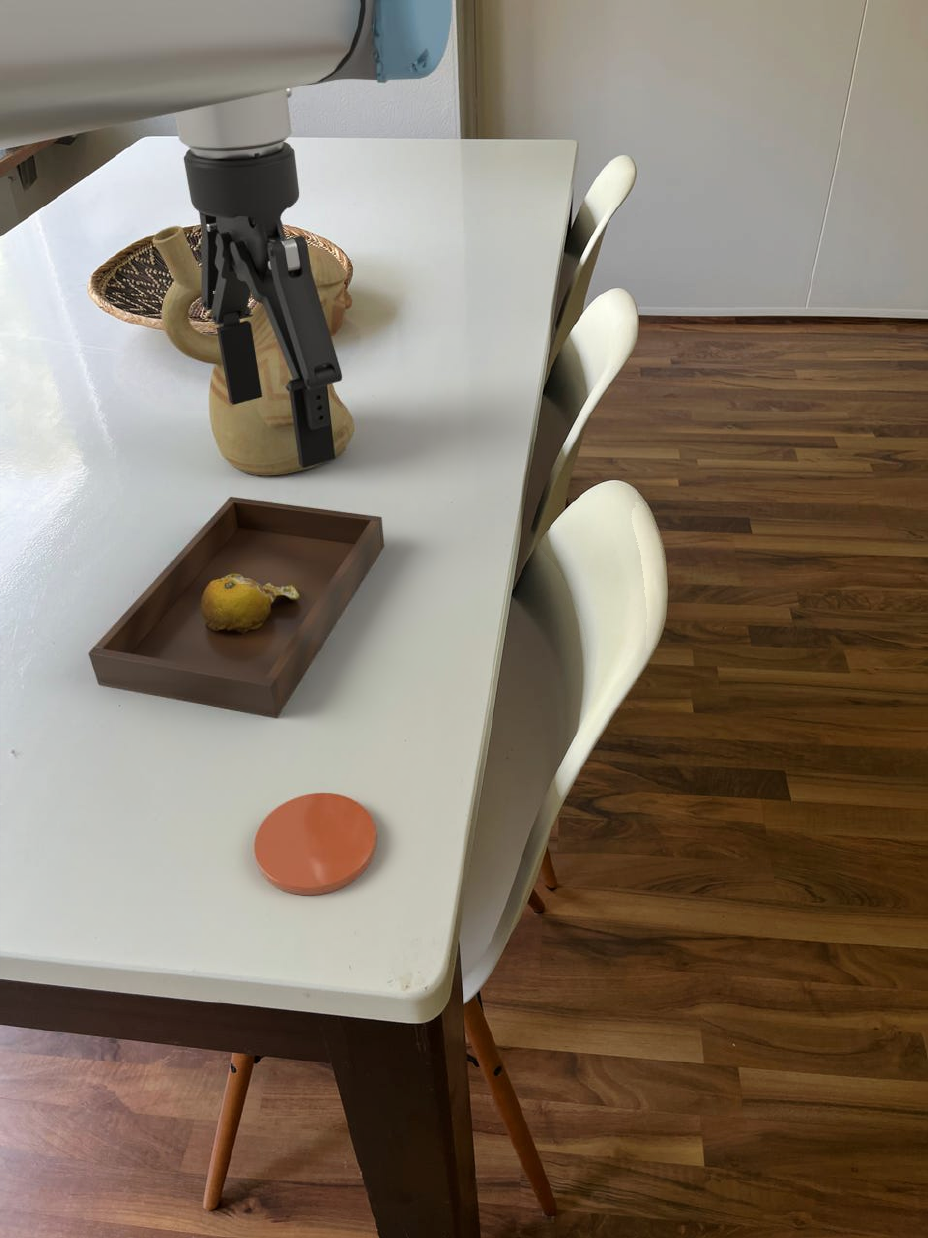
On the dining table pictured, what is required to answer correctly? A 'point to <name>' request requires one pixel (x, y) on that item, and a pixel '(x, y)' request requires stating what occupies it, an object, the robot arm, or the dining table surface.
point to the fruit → (239, 603)
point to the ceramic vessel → (263, 425)
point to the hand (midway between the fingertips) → (279, 429)
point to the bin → (259, 658)
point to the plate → (315, 844)
